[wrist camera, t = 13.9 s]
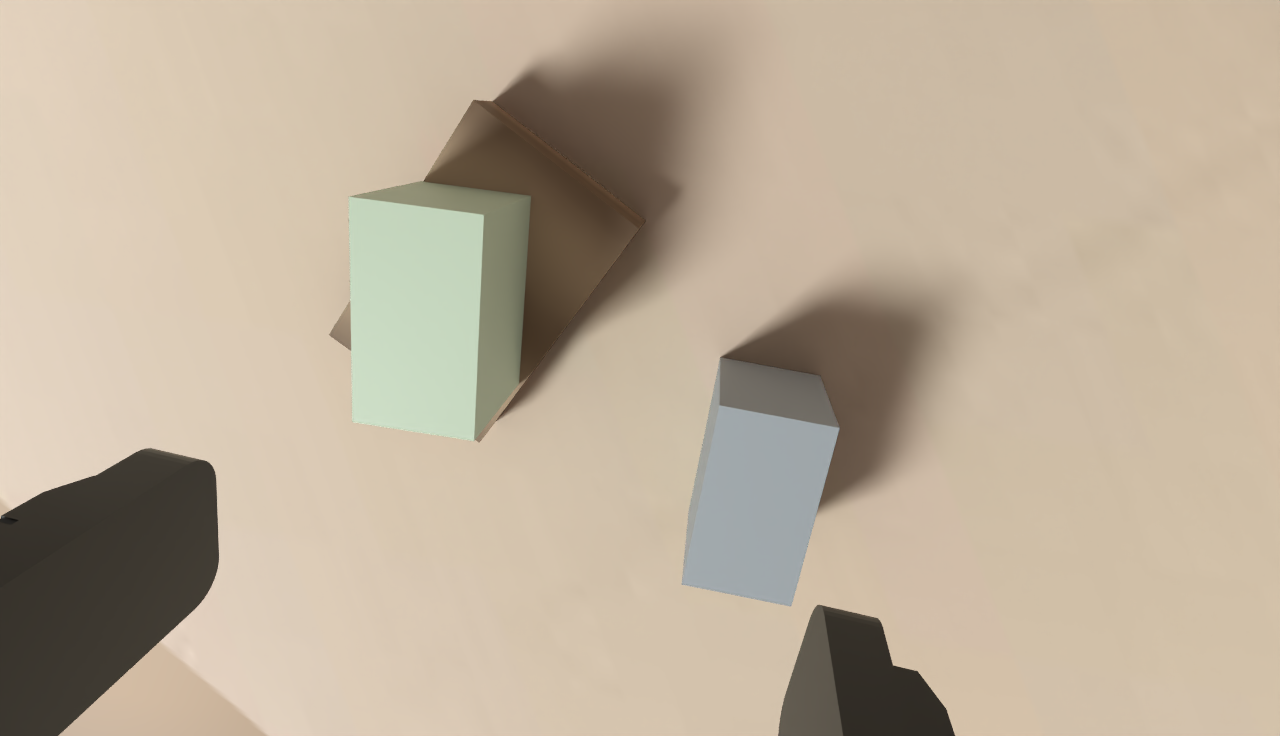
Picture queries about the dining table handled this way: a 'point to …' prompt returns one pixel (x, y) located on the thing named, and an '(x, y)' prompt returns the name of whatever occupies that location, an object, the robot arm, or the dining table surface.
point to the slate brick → (758, 481)
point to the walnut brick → (535, 223)
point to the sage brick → (436, 305)
